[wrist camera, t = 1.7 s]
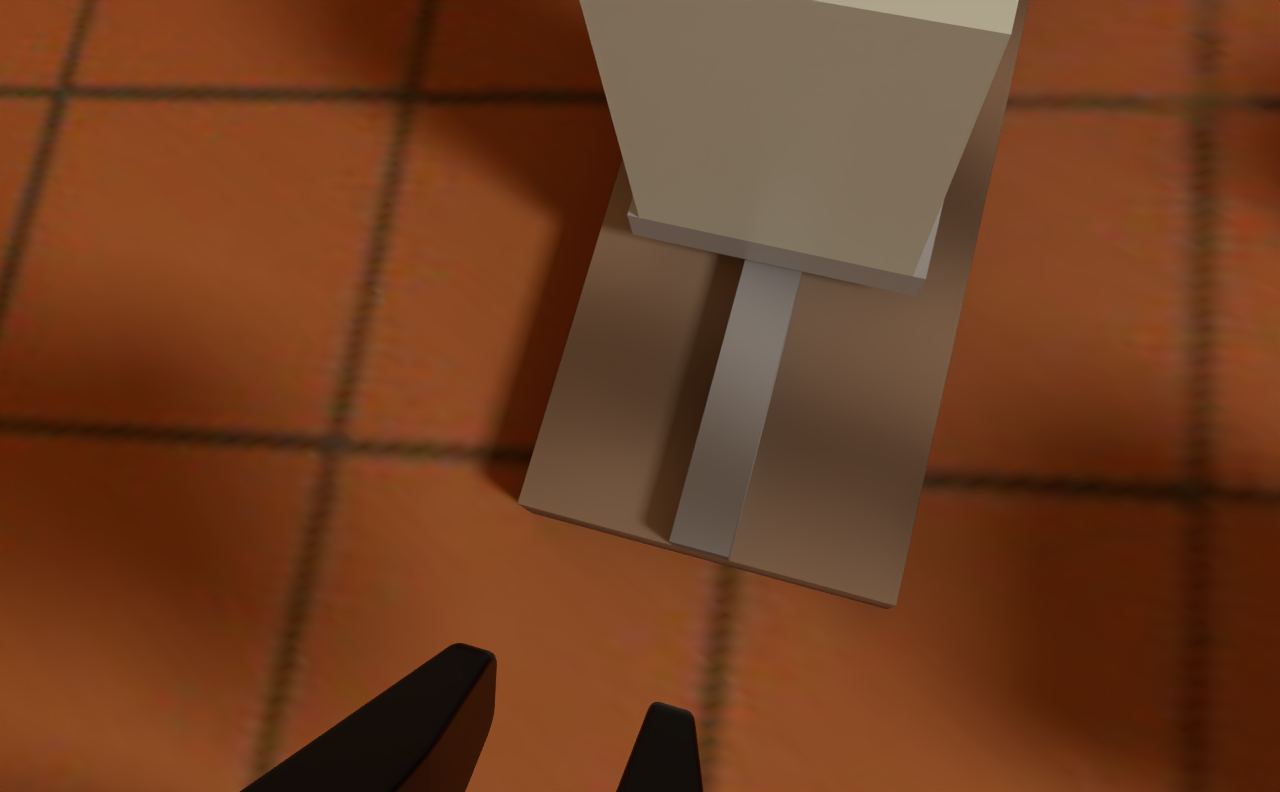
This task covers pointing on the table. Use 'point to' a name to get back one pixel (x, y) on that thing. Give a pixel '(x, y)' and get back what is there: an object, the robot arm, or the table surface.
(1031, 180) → the table surface
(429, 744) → the robot arm
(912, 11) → the block
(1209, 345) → the table surface
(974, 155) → the track
